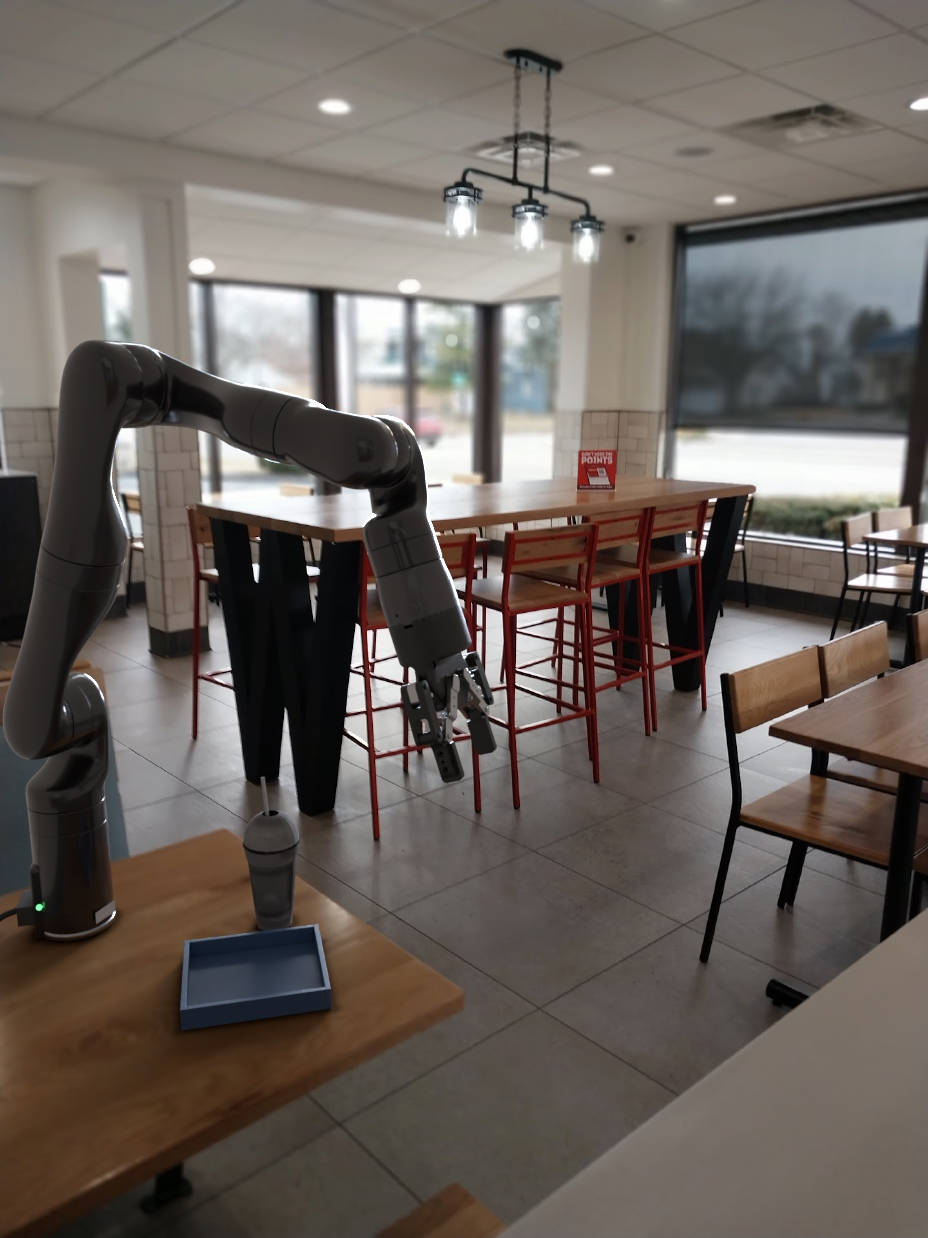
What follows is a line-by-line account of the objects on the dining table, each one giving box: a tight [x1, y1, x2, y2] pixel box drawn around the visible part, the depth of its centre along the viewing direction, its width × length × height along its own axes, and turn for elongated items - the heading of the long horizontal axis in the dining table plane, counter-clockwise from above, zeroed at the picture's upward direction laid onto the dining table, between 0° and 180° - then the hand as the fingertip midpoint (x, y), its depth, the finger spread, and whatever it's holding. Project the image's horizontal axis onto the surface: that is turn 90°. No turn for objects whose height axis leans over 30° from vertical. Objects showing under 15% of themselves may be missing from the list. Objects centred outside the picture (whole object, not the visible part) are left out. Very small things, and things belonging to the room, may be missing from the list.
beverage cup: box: [242, 776, 301, 931], centre depth 122 cm, size 7×7×20 cm
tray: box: [179, 923, 332, 1031], centre depth 111 cm, size 16×14×2 cm
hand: (471, 766), depth 95 cm, fingers open, 8 cm apart
